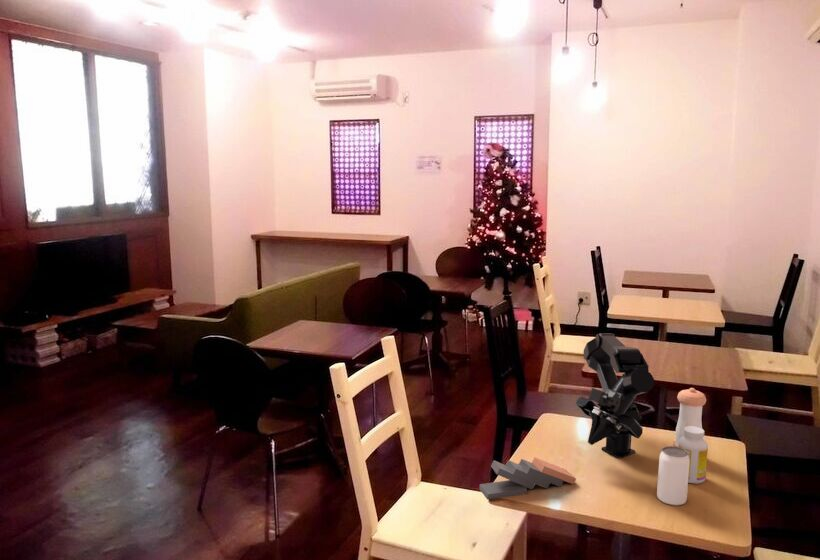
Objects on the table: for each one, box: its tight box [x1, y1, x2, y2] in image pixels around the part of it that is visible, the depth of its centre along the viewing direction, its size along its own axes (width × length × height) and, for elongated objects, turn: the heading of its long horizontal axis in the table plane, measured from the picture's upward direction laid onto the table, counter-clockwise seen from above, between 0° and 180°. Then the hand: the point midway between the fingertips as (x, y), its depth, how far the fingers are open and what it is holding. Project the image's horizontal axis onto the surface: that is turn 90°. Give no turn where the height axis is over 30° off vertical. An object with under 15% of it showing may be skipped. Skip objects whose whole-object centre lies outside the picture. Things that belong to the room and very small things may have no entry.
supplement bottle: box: [678, 426, 709, 485], centre depth 161 cm, size 7×7×13 cm
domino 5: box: [531, 456, 577, 485], centre depth 159 cm, size 2×5×10 cm
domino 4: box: [518, 458, 564, 488], centre depth 158 cm, size 2×5×10 cm
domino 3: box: [504, 459, 551, 489], centre depth 157 cm, size 2×5×10 cm
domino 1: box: [490, 460, 536, 491], centre depth 157 cm, size 2×5×10 cm
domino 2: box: [479, 479, 528, 501], centre depth 155 cm, size 2×5×10 cm
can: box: [656, 445, 689, 507], centre depth 151 cm, size 6×6×12 cm
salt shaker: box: [672, 387, 707, 447], centre depth 172 cm, size 7×7×19 cm
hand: (589, 443), depth 164 cm, fingers closed
